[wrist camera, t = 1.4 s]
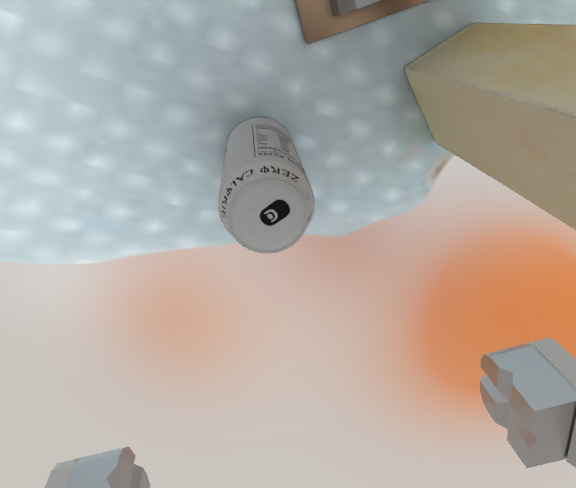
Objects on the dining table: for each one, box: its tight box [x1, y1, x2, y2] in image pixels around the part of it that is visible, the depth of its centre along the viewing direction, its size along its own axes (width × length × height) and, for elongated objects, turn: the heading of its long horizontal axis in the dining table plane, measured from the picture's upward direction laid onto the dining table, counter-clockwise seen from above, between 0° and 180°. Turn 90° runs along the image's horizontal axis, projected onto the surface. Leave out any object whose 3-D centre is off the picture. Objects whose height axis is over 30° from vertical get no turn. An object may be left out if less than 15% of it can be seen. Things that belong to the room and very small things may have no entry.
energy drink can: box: [219, 117, 314, 253], centre depth 31 cm, size 6×6×15 cm
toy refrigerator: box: [404, 23, 576, 230], centre depth 27 cm, size 8×7×21 cm
